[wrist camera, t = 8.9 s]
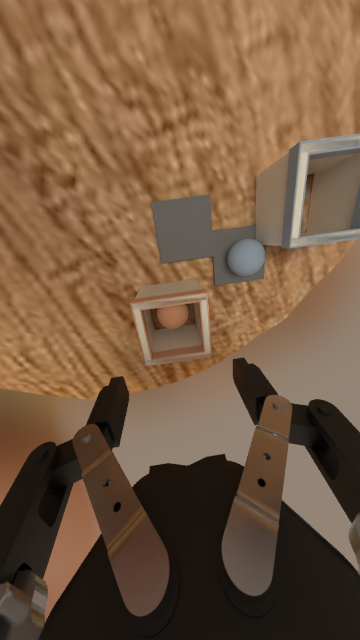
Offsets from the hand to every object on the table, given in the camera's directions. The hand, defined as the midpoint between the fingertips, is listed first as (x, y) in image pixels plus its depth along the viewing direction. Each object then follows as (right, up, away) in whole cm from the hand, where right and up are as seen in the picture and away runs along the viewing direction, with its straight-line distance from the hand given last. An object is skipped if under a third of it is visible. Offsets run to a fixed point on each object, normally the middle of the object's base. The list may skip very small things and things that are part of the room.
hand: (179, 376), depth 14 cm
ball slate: (+8, +13, +12) cm, 19 cm away
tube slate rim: (+13, +18, +10) cm, 25 cm away
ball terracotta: (-1, +6, +14) cm, 16 cm away
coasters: (+4, +14, +11) cm, 18 cm away
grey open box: (-1, +6, +14) cm, 16 cm away
